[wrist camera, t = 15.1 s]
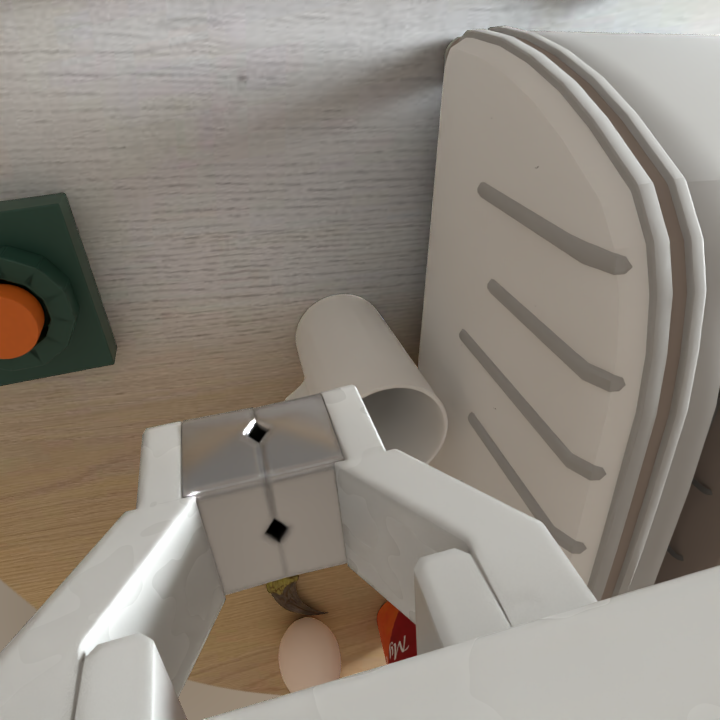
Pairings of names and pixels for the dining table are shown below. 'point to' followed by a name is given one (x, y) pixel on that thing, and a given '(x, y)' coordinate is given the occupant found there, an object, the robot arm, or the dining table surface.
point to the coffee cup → (396, 634)
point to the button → (18, 321)
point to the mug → (370, 373)
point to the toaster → (582, 291)
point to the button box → (53, 289)
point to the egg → (308, 655)
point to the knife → (289, 596)
